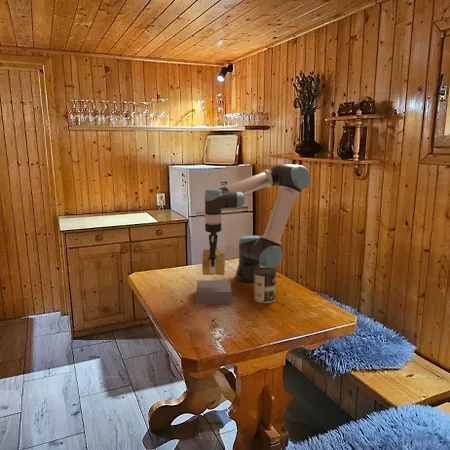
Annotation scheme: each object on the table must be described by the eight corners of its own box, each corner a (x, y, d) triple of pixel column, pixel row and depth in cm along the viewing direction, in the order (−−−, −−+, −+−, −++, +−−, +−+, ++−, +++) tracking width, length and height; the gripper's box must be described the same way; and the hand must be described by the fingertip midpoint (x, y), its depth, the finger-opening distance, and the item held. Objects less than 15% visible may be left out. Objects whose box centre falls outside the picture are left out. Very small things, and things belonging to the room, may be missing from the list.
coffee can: (276, 295, 195) (277, 267, 192) (274, 304, 185) (275, 274, 182) (255, 294, 197) (255, 266, 194) (252, 302, 187) (252, 273, 184)
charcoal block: (229, 291, 202) (229, 280, 201) (231, 304, 186) (231, 291, 185) (197, 292, 201) (197, 280, 200) (196, 304, 186) (196, 292, 184)
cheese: (224, 275, 186) (224, 254, 184) (201, 275, 186) (200, 254, 184) (225, 268, 196) (225, 248, 194) (202, 268, 196) (202, 248, 194)
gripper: (206, 218, 197) (207, 262, 202) (203, 228, 175) (203, 277, 180) (222, 218, 197) (222, 262, 202) (220, 228, 175) (220, 277, 180)
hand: (213, 269), depth 191 cm, fingers closed on cheese, 10 cm apart
